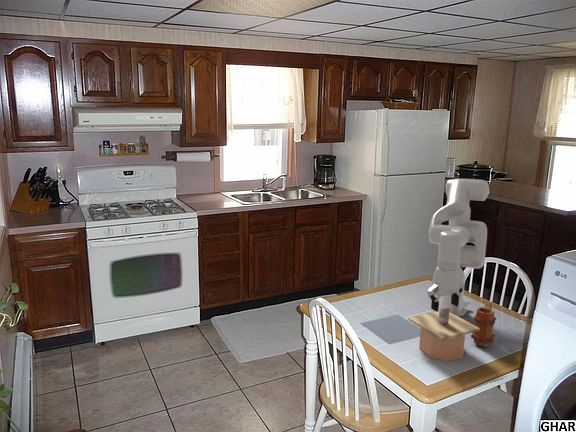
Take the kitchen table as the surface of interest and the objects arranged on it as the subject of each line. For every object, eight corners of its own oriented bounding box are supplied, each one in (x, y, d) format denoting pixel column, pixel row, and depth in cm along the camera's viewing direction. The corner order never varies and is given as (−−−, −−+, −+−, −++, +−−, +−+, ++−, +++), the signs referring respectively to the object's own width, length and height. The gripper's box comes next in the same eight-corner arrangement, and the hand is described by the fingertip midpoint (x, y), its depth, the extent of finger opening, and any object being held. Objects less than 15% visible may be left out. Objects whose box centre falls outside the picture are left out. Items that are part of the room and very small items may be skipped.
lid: (444, 311, 188) (445, 295, 186) (479, 330, 172) (481, 313, 171) (408, 320, 181) (409, 303, 179) (441, 340, 165) (443, 322, 163)
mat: (397, 315, 208) (397, 314, 207) (429, 334, 190) (429, 333, 190) (360, 324, 199) (360, 323, 199) (389, 345, 182) (389, 344, 182)
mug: (491, 351, 177) (495, 315, 174) (468, 346, 181) (472, 310, 178) (497, 336, 189) (501, 301, 186) (476, 330, 193) (479, 297, 190)
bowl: (441, 336, 189) (443, 313, 186) (472, 354, 175) (474, 330, 173) (411, 344, 182) (412, 320, 180) (439, 364, 168) (442, 338, 166)
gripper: (458, 257, 178) (454, 299, 182) (422, 265, 170) (419, 308, 175) (473, 264, 171) (469, 307, 175) (437, 271, 164) (433, 316, 168)
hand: (444, 307), depth 175 cm, fingers open, 9 cm apart
